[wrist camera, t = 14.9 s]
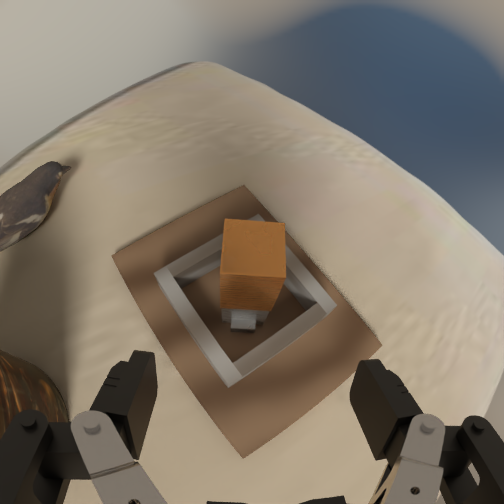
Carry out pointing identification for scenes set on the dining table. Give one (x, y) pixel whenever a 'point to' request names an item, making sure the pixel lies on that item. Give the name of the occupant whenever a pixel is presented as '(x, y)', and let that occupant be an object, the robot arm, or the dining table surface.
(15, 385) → the jar
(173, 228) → the socket board
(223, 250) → the orange rectangular block
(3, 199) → the decorative bird
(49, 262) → the dining table surface
